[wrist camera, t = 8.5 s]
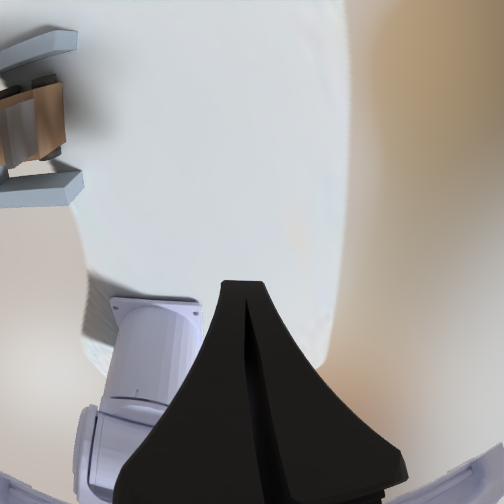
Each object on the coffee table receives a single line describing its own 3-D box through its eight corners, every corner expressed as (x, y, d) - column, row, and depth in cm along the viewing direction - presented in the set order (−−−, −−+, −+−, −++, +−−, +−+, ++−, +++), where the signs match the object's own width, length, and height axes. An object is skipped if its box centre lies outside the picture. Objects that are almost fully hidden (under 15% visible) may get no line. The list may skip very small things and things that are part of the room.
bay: (84, 187, 16) (67, 206, 14) (3, 192, 15) (-15, 209, 13) (77, 31, 10) (55, 30, 8) (-13, 64, 9) (-36, 70, 7)
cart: (67, 150, 15) (18, 188, 10) (15, 157, 14) (-34, 195, 10) (62, 72, 11) (4, 86, 7) (7, 89, 11) (-49, 111, 6)
